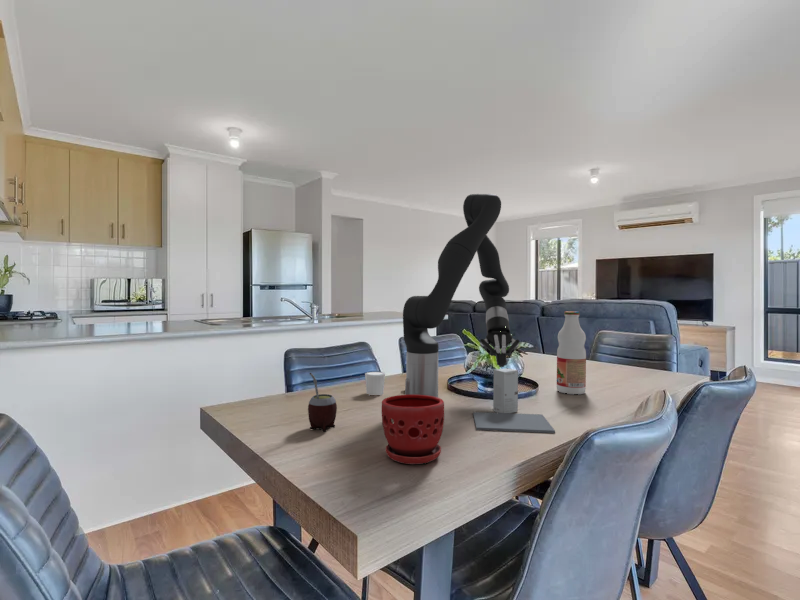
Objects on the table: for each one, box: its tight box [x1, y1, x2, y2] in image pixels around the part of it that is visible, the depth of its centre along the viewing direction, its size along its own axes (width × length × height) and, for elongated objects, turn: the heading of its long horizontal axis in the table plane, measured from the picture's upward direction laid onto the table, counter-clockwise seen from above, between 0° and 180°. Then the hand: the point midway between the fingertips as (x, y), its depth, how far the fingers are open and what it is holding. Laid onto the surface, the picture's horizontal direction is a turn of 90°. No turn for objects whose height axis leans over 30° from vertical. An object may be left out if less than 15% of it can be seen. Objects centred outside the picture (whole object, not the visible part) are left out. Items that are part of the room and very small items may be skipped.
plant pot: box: [381, 394, 445, 465], centre depth 90 cm, size 13×13×12 cm
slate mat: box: [472, 411, 556, 434], centre depth 113 cm, size 19×14×1 cm
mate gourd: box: [307, 372, 338, 433], centre depth 107 cm, size 8×8×15 cm
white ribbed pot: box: [364, 371, 386, 396], centre depth 144 cm, size 7×7×7 cm
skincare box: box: [492, 367, 519, 413], centre depth 124 cm, size 6×4×12 cm
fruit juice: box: [556, 310, 587, 395], centre depth 148 cm, size 9×9×28 cm
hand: (501, 365), depth 132 cm, fingers closed
